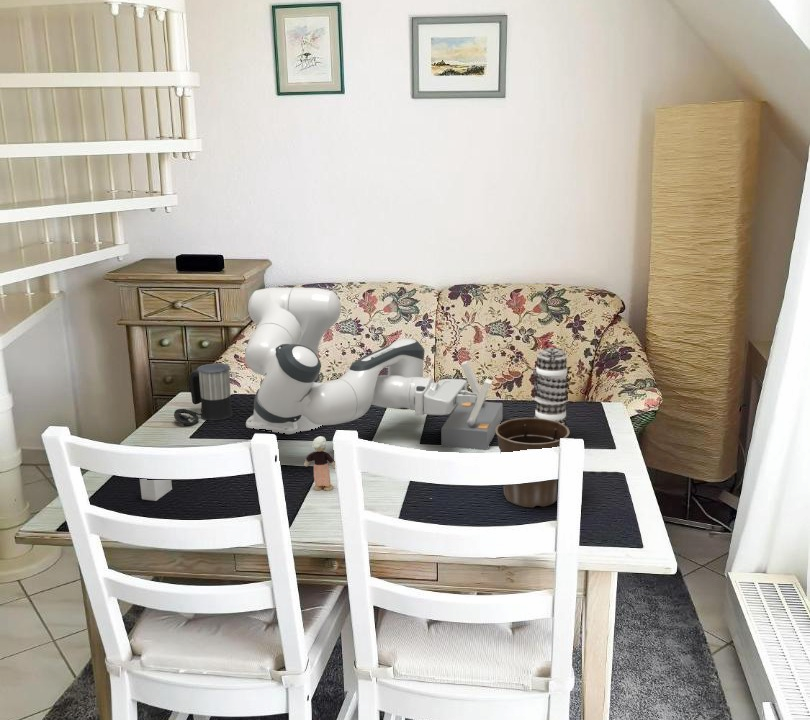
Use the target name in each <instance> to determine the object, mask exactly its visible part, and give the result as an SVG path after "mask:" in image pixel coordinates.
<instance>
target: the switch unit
mask: <svg viewBox="0 0 810 720" xmlns="http://www.w3.org/2000/svg"><path fill="white" fill-rule="evenodd" d="M475 403H476V402H475ZM475 403H470V402H469V403H463V404H459V403H458V404H457V405H456V407H455V408H454V409H453V411H452V412H451V413H450V414H449V416H448V418H447V419H446V421H445V422H444V424H443V425H442V427H441V428H440V429H441V430H440V431H441V435H440V437H441V438H440V439H441V441H440V442H441V447H445V446H450V447H449V448H457V447H458V448H459V449H469V448H471V450H481V449H487V448H488V449H489V447H488V446H490V445H491V443H492V441H493V439H494V436H495V435H496V433H495V429H496V427H497V426H498V425H499V424H500V423H502V422H503V415H504V414H503V411H504V409H503V406H504V404H503V402H494V401H493V402H491V401H490V402H489V401H484V403H483V405H482V407H481V409H480V411H479V414H478V416H477V420H476V422H475V424H474V425H473V426H469V425H468V424H467V420H468V419H469V417H470V415H471V413H472V410H473V408H474V406H475ZM501 421H502V422H501ZM490 442H491V443H490ZM489 444H490V445H489ZM474 448H475V449H474ZM488 449H487V450H488Z"/></svg>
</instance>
